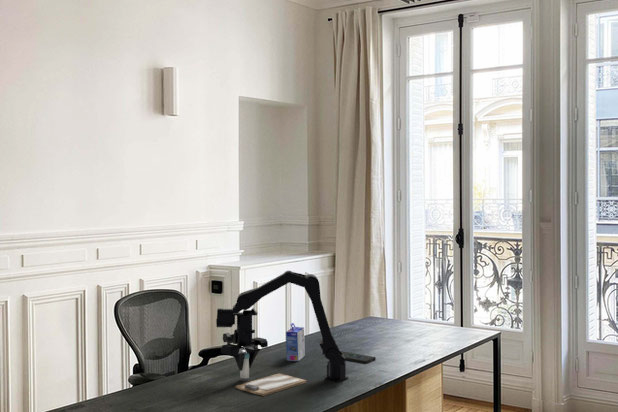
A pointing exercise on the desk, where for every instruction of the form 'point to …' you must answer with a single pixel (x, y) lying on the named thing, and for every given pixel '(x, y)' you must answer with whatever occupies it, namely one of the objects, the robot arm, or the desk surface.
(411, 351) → the desk surface
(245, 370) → the marker
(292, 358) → the ink cartridge box
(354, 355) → the smart home device
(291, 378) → the clipboard
